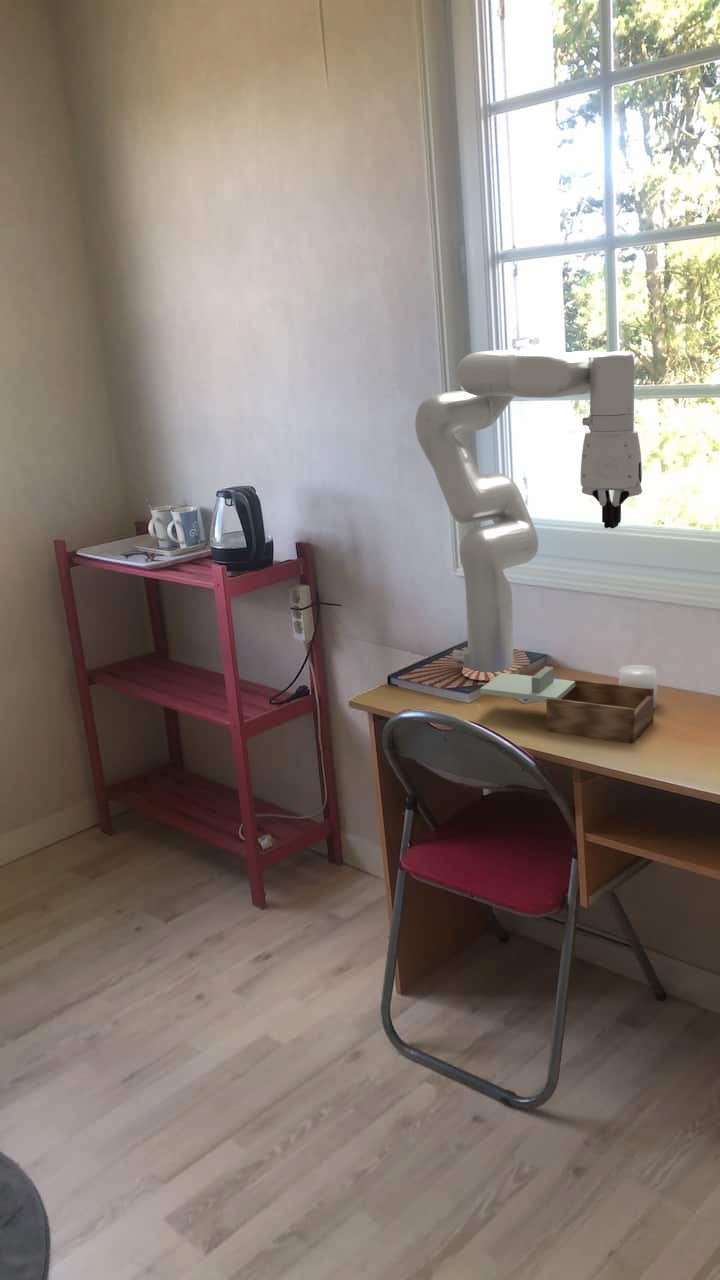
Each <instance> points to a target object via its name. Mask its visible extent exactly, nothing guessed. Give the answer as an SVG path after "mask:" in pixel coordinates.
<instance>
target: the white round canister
mask: <svg viewBox="0 0 720 1280" xmlns="http://www.w3.org/2000/svg"><path fill="white" fill-rule="evenodd" d="M618 684H620V685H629V686H637V687H646V688H654V702H653V710H654V709H656V708H657V700H658V698H657V697H658V669H657V668H655V667H653V666H651V665H647V664H629V665H623V666H621V667H620V668H619V669H618Z"/></svg>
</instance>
